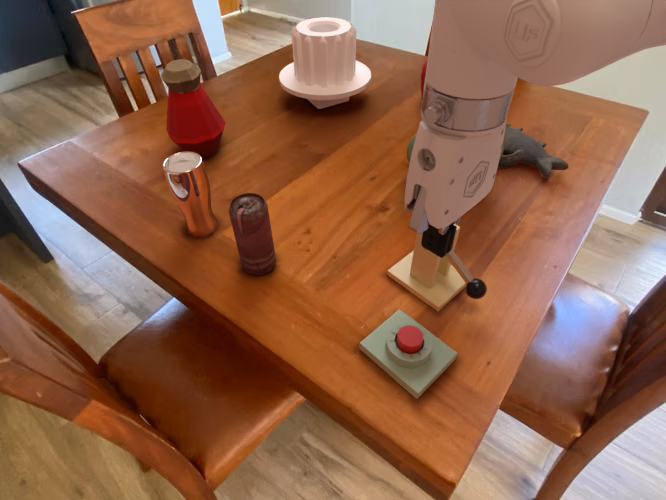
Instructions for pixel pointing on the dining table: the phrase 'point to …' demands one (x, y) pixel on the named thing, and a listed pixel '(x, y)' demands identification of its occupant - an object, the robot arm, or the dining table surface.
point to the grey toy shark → (528, 153)
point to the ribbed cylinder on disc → (324, 63)
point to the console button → (409, 339)
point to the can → (253, 233)
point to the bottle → (191, 110)
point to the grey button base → (407, 354)
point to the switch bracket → (428, 275)
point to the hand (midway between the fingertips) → (435, 248)
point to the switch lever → (467, 278)
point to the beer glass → (191, 191)
